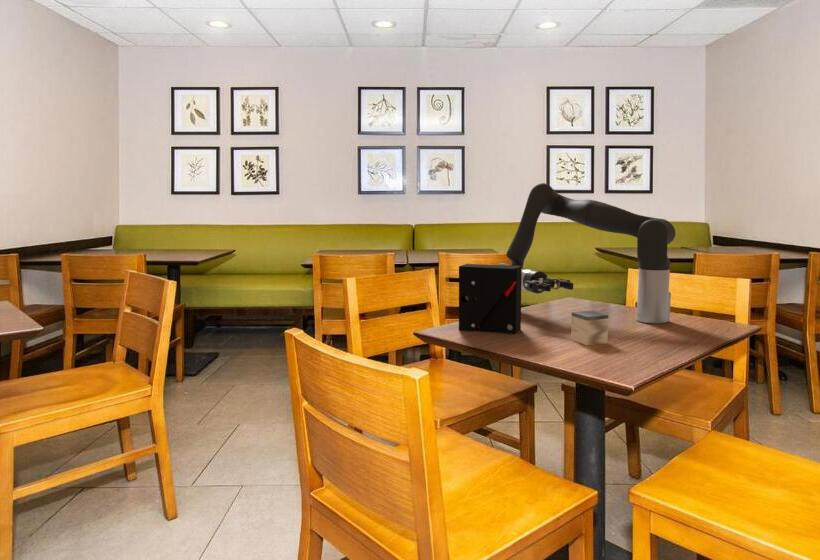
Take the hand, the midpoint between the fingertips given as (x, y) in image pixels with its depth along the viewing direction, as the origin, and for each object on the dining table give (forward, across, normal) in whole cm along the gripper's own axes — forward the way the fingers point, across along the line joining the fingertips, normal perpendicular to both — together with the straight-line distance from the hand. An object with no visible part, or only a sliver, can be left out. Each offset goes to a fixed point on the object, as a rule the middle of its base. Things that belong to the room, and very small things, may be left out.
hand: (561, 287), depth 173 cm
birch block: (+19, -4, +5) cm, 20 cm away
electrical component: (-5, -22, +13) cm, 26 cm away
